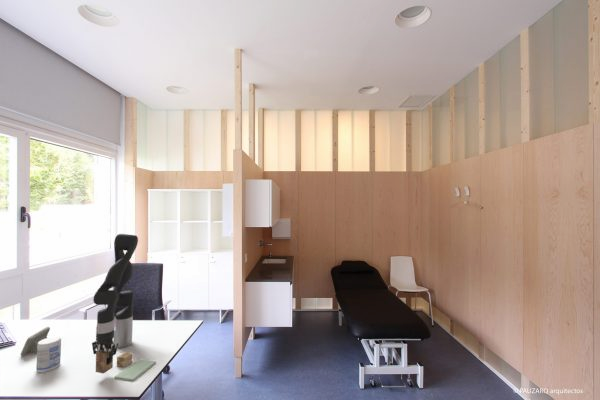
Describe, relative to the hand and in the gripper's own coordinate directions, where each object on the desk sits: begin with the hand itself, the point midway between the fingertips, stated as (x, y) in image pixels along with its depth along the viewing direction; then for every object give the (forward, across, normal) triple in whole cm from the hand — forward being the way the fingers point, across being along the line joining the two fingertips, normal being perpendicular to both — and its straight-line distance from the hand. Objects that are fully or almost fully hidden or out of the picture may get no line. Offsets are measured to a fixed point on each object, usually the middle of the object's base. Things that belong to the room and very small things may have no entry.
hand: (104, 362), depth 137 cm
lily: (+9, -41, +43) cm, 60 cm away
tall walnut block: (+3, 0, 0) cm, 3 cm away
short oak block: (+7, +1, +12) cm, 14 cm away
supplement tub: (+8, -36, 0) cm, 37 cm away
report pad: (+7, +12, +8) cm, 16 cm away
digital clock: (+9, -64, +13) cm, 66 cm away
